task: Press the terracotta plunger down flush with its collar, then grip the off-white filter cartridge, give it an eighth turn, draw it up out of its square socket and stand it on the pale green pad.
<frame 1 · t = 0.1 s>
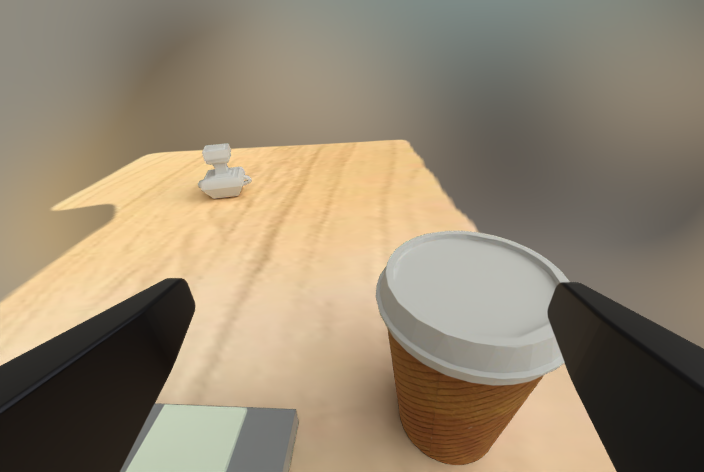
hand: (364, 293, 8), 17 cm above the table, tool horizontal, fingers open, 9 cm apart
stamp: (228, 195, 56), on the table
disposable coffee cup: (445, 415, 22), on the table
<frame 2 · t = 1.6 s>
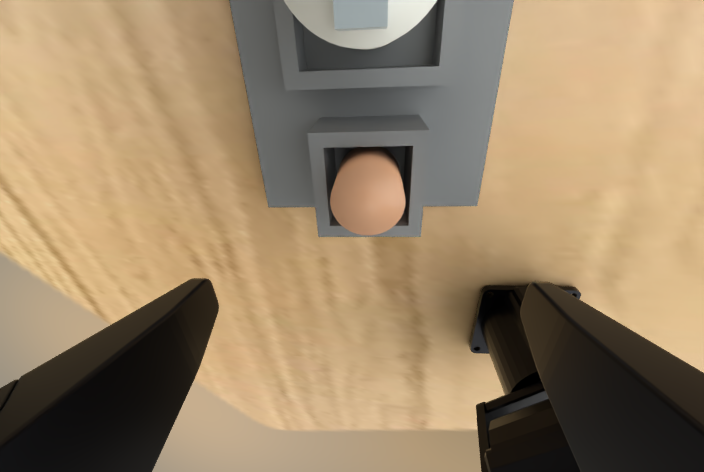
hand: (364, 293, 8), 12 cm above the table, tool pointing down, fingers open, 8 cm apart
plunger: (368, 188, 14), point 5 cm above the table, slide at 0.0 cm
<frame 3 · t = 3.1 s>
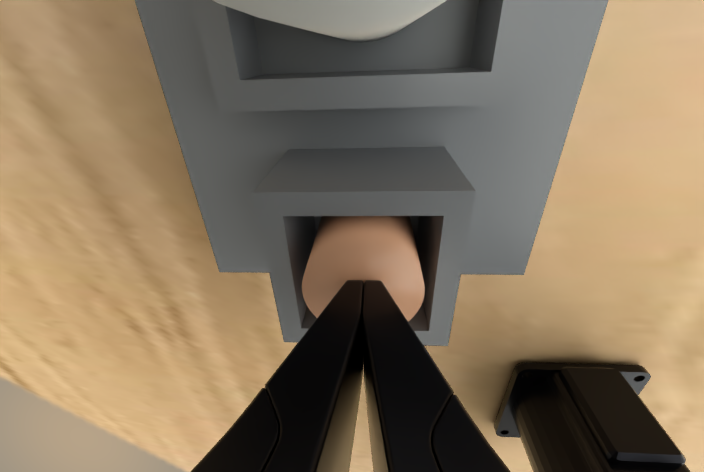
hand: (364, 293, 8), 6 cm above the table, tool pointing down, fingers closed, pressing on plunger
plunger: (364, 255, 9), point 4 cm above the table, slide at 1.0 cm, touching gripper
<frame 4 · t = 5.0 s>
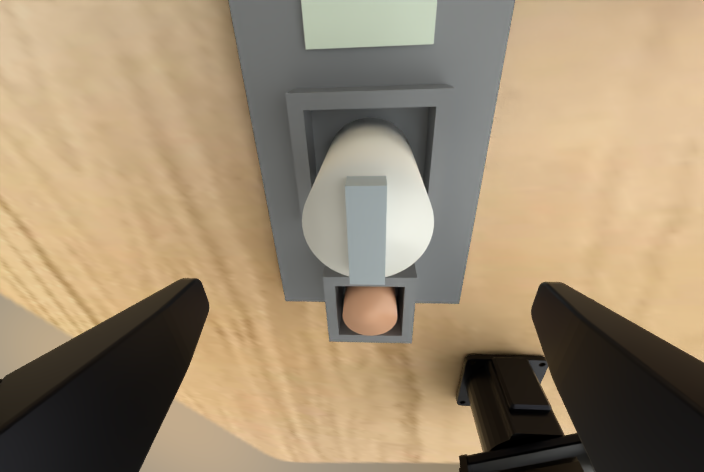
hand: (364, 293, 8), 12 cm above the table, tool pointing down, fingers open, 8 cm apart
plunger: (370, 296, 19), point 4 cm above the table, slide at 1.2 cm
housing: (369, 144, 18), on the table
cartridge: (369, 161, 17), point 1 cm above the table, touching housing
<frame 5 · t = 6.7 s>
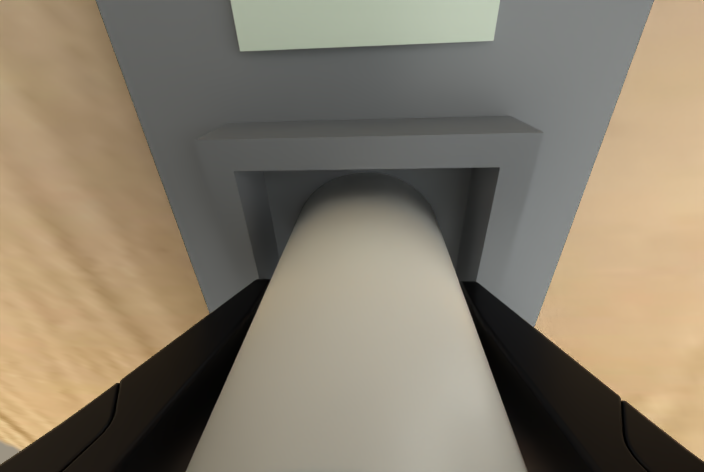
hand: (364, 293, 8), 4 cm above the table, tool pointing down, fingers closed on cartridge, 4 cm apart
housing: (367, 204, 11), on the table
cartridge: (366, 239, 10), point 1 cm above the table, touching gripper, housing
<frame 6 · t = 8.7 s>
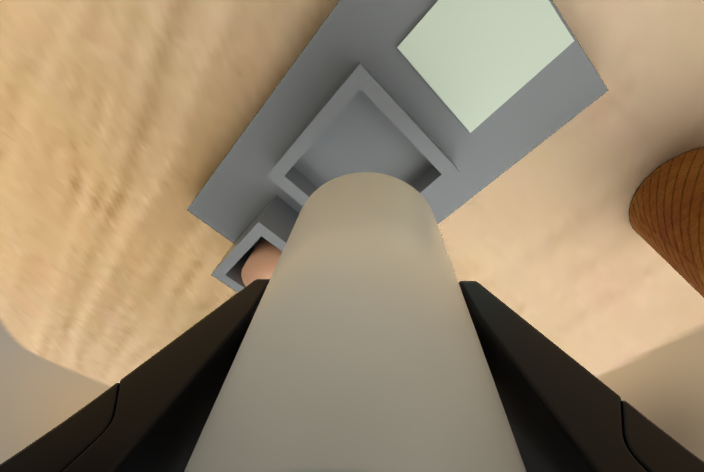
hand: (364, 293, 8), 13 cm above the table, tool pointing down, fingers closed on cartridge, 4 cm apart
disposable coffee cup: (683, 195, 20), on the table
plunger: (275, 262, 19), point 4 cm above the table, slide at 1.2 cm
housing: (369, 150, 19), on the table
cartridge: (365, 239, 10), point 11 cm above the table, touching gripper
when the fingers open (6 cm above the table, at t = 10.8 s): cartridge drops 1 cm, resting on housing.
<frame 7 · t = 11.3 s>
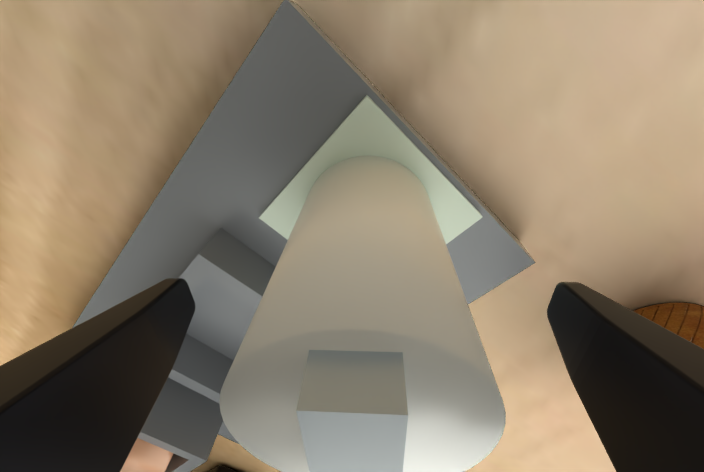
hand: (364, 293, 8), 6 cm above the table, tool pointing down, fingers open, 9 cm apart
disposable coffee cup: (644, 344, 16), on the table
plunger: (151, 429, 16), point 4 cm above the table, slide at 1.2 cm
housing: (263, 295, 16), on the table
cartridge: (367, 217, 11), point 2 cm above the table, touching housing
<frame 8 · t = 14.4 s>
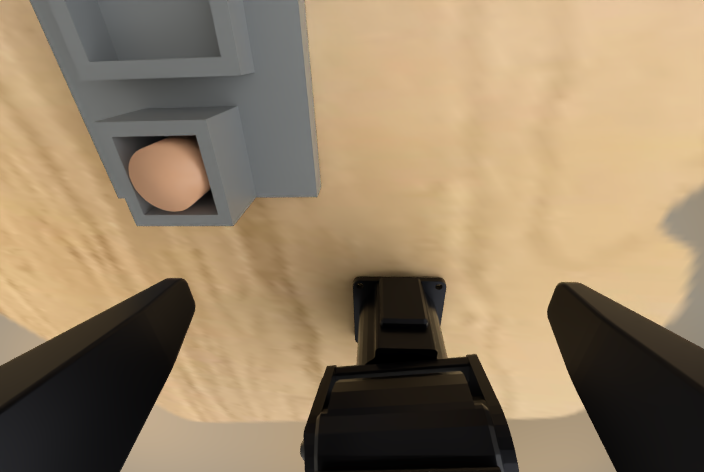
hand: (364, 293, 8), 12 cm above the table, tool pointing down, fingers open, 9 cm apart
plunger: (182, 168, 15), point 4 cm above the table, slide at 1.2 cm
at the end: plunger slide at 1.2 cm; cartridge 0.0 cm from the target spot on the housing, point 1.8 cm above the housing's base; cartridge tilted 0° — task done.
